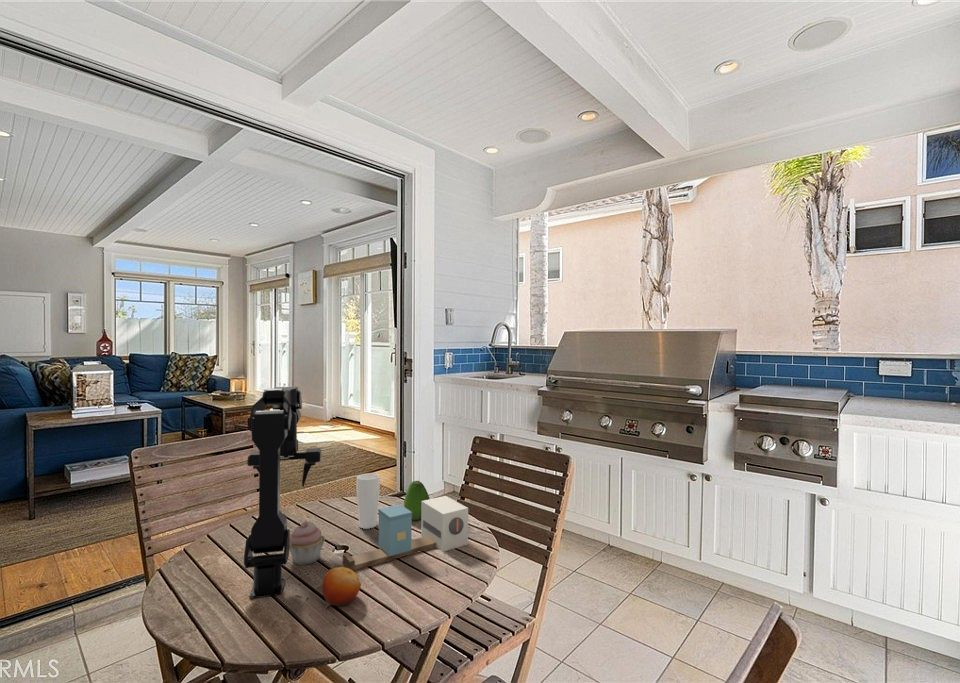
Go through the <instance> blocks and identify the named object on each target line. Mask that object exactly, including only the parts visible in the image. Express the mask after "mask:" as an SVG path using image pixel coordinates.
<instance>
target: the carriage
mask: <svg viewBox="0 0 960 683" xmlns="http://www.w3.org/2000/svg"><path fill="white" fill-rule="evenodd" d="M377 514H378V547H379V549H382V550H384V551H385V552H386V553H387V554H388V555H389V556H393V555H396V554H400V553H403V552H407V551H410V550H411V540H412V512H411V511H409V510H408V509H406V508H405V507H404V505H402V504H401V503H399V504H395V505H390V506H385V507H381V508H378V513H377Z"/></svg>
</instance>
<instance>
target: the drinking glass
mask: <svg viewBox="0 0 960 683" xmlns="http://www.w3.org/2000/svg"><path fill="white" fill-rule="evenodd" d="M380 479H381V478H380V475H379V474H378V473H373V472H367V473H361V474H359V475H356V482H355V483H356V486H355V487H356V501H357V502H356V503H357V511H358V512H357V514H358V515H357V516H358V526H359V528H361V529H362V528H363V530H368V529H370V528H371V529H373V528H375V527H376V526H378V514H379V513H378V509H379V500H380V489H381V488H380V487H381V486H380V484H381V483H380Z"/></svg>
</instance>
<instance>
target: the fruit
mask: <svg viewBox="0 0 960 683" xmlns="http://www.w3.org/2000/svg"><path fill="white" fill-rule="evenodd" d="M354 571H355V570H354ZM354 571H352V570H351V569H349V568H346V567H345V566H338V567H333V568H330V569H329V570H328V571H327V572H326V574H325V575H324V577H323V581H322V584H321V592H322V594H323V596H324V601H325V604H326V606H325V607H324V610H326V609H327V608H328V607H330V606H336V607H340V606H341V607H342V606H347V605H348V606H349V605H350V604H351V603H352V602H353V601H354V600H355V599H356V597H357V595H358V593H359V592H360V588H361V586H362V582H361V581H360V578H359V576H358V575H357V574H358V573H356V572H354Z"/></svg>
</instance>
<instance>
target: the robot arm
mask: <svg viewBox="0 0 960 683" xmlns="http://www.w3.org/2000/svg"><path fill="white" fill-rule="evenodd" d="M261 396H262V397H260V399H258V400H257V401H256V402H255V403H254V404H253V405H252V407H251V411H250V414H249V415H250V416H249V419H248V430H249V432H251V440H252V442H253V444H254V445H255V447H256V448H257V451H256V450H255V451H252V452H251V453H250V454H249V455H248V456H247V463H246V464H247V466H248V467H252V469H253V470H255V469H256V470H257V473H258V475H259V479H258V499H259V500H258V517H257V518H256V521H255V522H254V523H253V525H252V527H251V529H250V532H249V534H248V538H247V539H246V540H245V546H244V554H243V566H244V567H245V568H244V569H250V568H251V569H252V568H253V586H252V587H251V589H250V593H249V599H254V598H255V599H256V598H262V597H268V596H269V597H270V596H277V595H278V596H279V595H282V594H283V593H282V592H283V588H284V585H285V581H286V578H285V577H282V572H283V571H282V570H283V569H282V567H283V566H282V565H287V563H288V560H289V556H290V550H289V542H290V536H291V531H290V528H288V520H287V519H288V518H287V515H286V514H285V513H282V511H281V501H280V500H281V498H280V497H281V461H291V460H292V461H293V460H295V461H296V460H304V461H305V462H304V464H303V471H302V472H303V473H302V480H301V487H303V488H304V487H305V485H306V484H305V483H306V481H307V477H308V475H309V472H310V470H311V468H312V466H315V465H316V464H317V463H320V462H321V461H322V449H321V448H320V447H313V448H311V447H310V448H306V450H305V451H302V452H300V451H299V440H298V436H297V435H298V432H297V431H298V423H299V422H300V420H301V417H302V414H301V411H300V410H302V409H303V400H302V399H303V398H302V392H301V390H299V387H298V386H276V387H275V386H274V387H273V388H266V389H264V390H263V393H262V395H261ZM267 406H270V408H271V409H272V410H270V409H269V410H265V409H266V408H267ZM298 451H299V452H298ZM279 552H282V553H279ZM267 553H268V554H267ZM269 553H273V554H269ZM253 554H254V555H253ZM256 554H257V555H256ZM258 554H259V555H258ZM260 554H262V555H260Z"/></svg>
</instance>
